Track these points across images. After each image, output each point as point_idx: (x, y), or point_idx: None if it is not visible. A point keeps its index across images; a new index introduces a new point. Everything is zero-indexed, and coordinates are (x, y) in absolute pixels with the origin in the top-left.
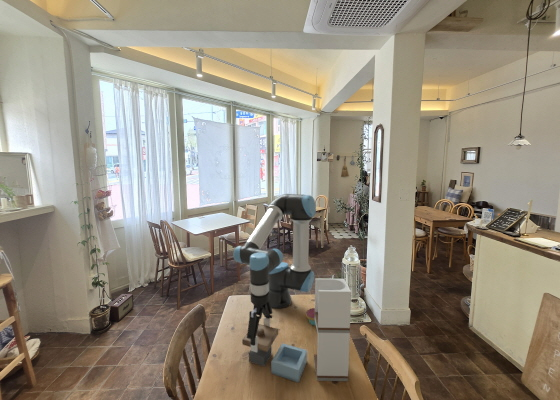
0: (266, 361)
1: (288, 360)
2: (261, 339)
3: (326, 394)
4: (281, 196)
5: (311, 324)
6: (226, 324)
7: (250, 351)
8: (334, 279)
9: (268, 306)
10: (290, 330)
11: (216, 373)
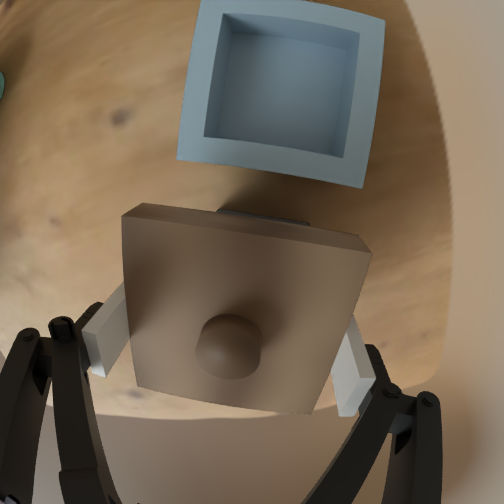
0: (282, 220)
1: (251, 101)
2: (296, 318)
3: None
4: None
5: (1, 94)
6: (131, 411)
7: None
8: None
9: (16, 428)
10: (43, 167)
11: None
